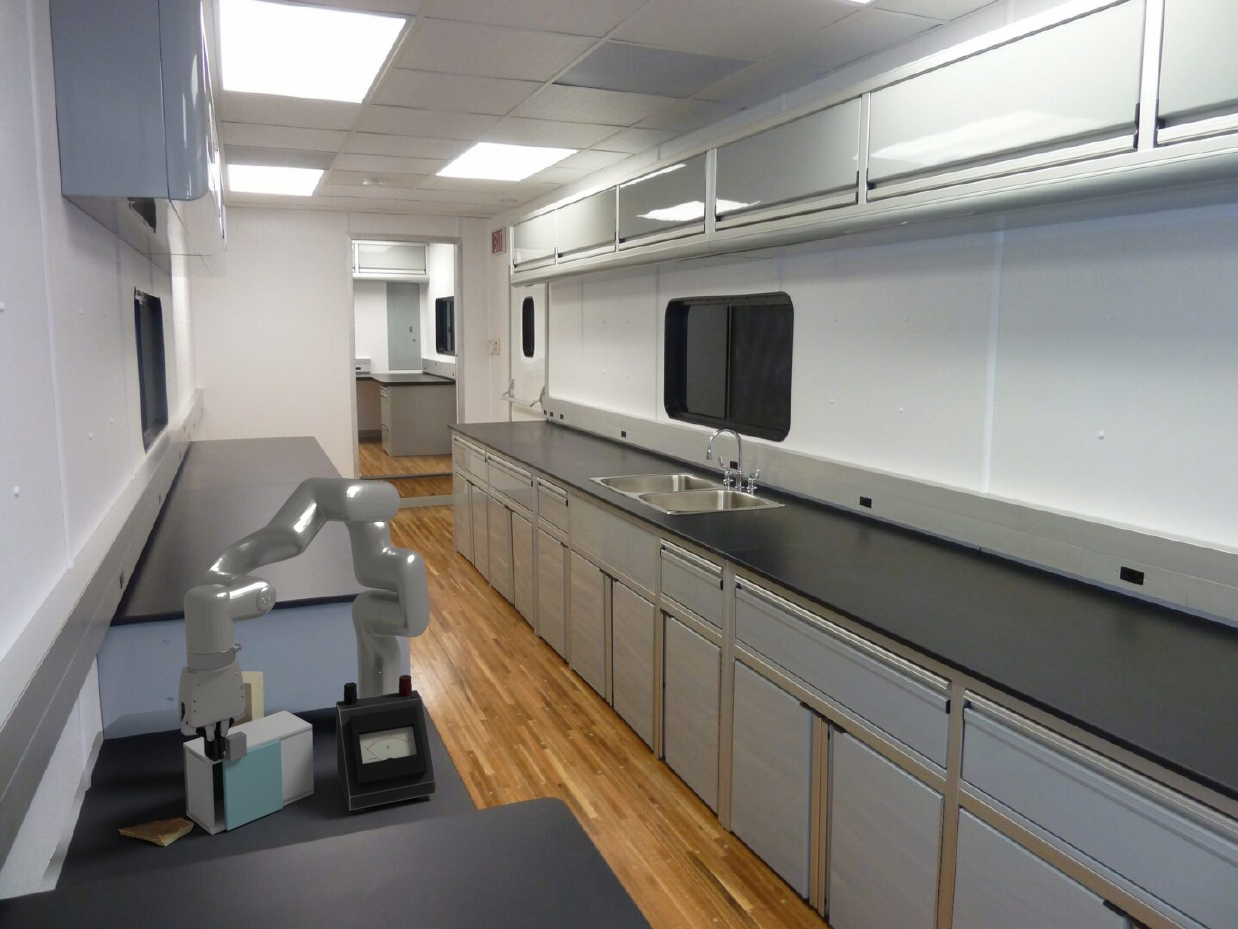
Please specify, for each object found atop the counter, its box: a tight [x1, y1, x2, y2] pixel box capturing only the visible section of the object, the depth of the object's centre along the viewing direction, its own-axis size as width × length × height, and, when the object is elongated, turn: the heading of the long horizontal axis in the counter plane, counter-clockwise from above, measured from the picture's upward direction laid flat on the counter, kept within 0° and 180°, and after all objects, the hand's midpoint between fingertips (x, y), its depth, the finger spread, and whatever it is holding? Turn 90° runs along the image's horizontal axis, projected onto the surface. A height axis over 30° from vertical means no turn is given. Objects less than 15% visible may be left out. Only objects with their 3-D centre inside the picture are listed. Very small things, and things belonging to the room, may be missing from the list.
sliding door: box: [222, 731, 284, 831], centre depth 161 cm, size 10×2×17 cm, turn 140°
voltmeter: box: [335, 674, 437, 813], centre depth 174 cm, size 16×16×20 cm
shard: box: [117, 816, 194, 847], centre depth 159 cm, size 11×8×2 cm
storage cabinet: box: [182, 710, 315, 835], centre depth 167 cm, size 20×10×14 cm, turn 140°
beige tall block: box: [212, 670, 265, 731], centre depth 178 cm, size 8×7×21 cm
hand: (215, 758), depth 155 cm, fingers closed
